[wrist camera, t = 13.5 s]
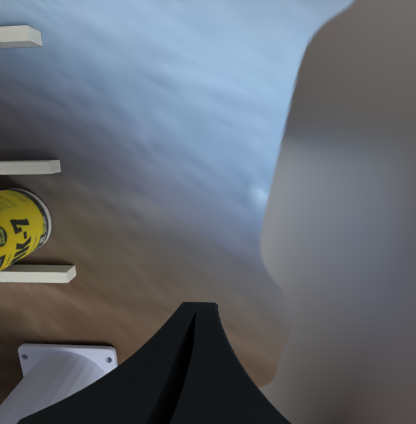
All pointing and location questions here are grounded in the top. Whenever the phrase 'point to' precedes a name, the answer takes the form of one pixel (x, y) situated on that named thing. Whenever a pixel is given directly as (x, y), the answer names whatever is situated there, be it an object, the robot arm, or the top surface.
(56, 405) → the robot arm
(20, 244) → the supplement bottle
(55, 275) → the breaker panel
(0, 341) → the top surface
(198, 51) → the top surface
